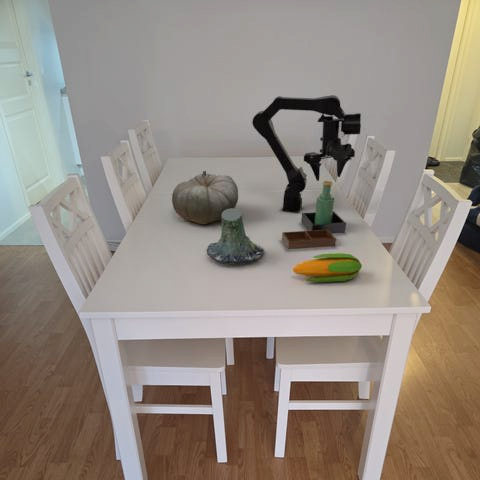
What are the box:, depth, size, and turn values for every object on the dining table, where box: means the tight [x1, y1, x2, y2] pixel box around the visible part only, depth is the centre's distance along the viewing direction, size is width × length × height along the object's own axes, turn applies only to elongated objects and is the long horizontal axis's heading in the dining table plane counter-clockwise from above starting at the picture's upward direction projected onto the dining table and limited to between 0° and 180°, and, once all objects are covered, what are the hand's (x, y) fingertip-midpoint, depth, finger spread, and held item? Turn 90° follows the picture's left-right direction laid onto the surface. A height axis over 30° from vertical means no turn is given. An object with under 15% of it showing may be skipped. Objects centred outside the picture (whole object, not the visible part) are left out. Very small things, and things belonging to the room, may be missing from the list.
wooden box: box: [281, 230, 337, 250], centre depth 150 cm, size 8×16×3 cm, turn 100°
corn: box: [292, 252, 363, 283], centre depth 128 cm, size 7×8×20 cm
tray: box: [300, 210, 347, 235], centre depth 161 cm, size 12×12×4 cm
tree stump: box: [206, 207, 265, 266], centre depth 139 cm, size 18×20×18 cm
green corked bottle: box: [314, 180, 335, 224], centre depth 158 cm, size 6×6×16 cm
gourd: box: [171, 170, 239, 225], centre depth 166 cm, size 25×25×17 cm
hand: (328, 178), depth 170 cm, fingers open, 9 cm apart
